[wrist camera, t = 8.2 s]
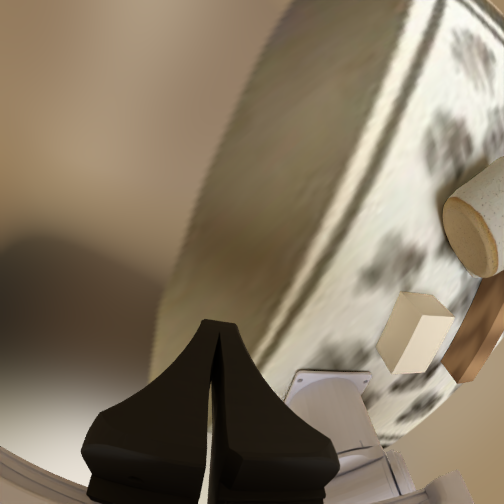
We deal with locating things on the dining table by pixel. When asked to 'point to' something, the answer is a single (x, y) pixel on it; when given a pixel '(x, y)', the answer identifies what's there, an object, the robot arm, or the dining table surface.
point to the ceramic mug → (478, 221)
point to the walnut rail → (477, 331)
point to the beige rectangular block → (413, 333)
